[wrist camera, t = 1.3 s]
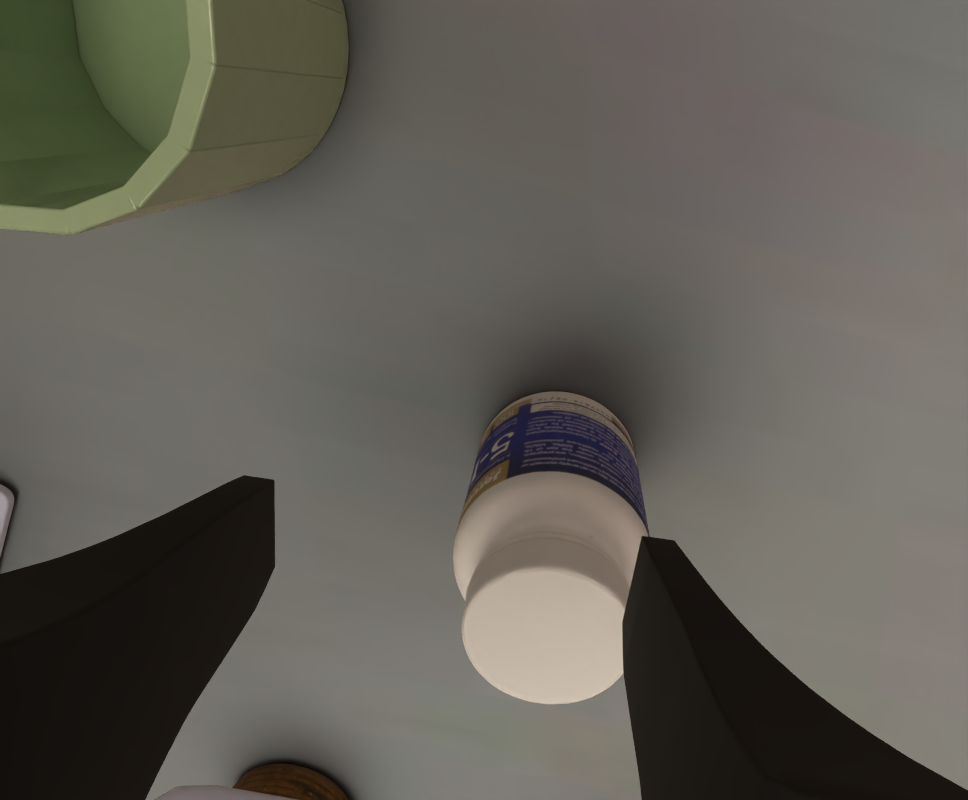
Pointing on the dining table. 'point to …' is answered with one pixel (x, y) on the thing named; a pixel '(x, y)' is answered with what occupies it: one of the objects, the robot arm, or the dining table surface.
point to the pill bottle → (549, 548)
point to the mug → (157, 102)
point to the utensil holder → (290, 783)
